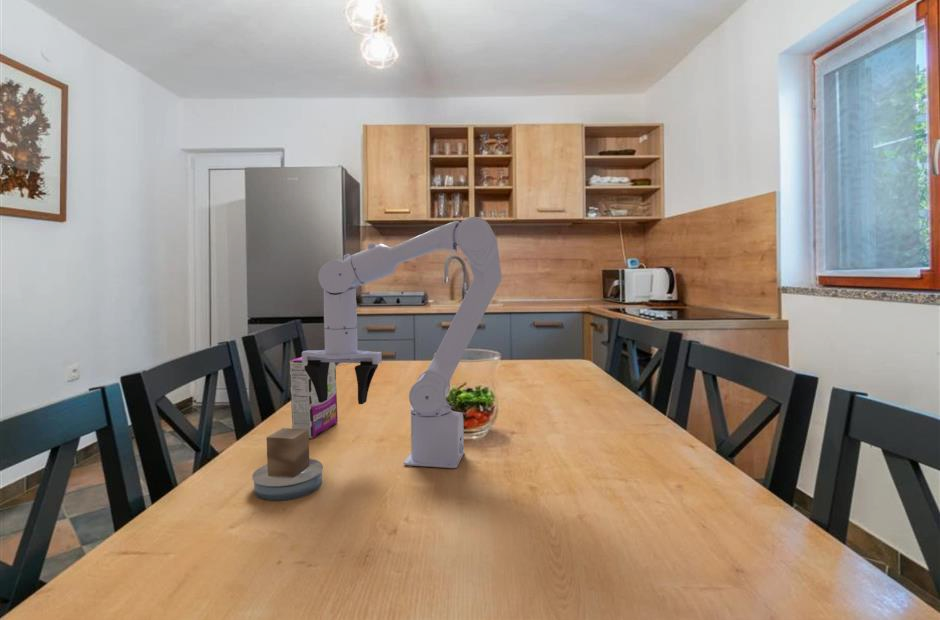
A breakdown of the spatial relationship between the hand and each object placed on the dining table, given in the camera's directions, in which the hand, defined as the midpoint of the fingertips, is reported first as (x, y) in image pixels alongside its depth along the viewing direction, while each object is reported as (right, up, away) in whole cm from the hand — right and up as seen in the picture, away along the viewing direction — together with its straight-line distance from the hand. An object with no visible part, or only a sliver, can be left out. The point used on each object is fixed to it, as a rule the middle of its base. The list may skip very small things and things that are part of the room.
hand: (342, 402), depth 85 cm
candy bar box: (-10, -10, +17) cm, 22 cm away
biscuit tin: (-6, -12, -11) cm, 17 cm away
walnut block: (-5, -9, -11) cm, 15 cm away
